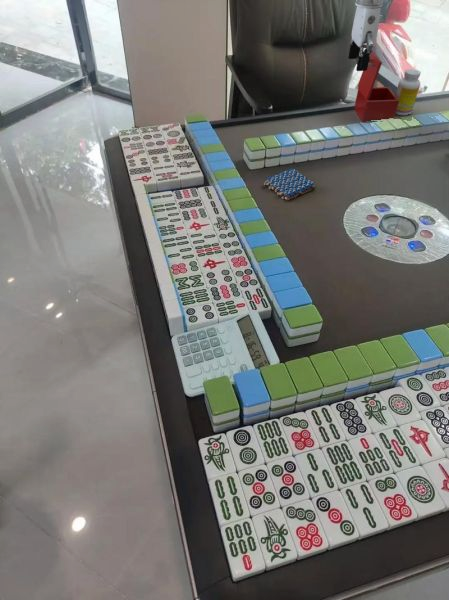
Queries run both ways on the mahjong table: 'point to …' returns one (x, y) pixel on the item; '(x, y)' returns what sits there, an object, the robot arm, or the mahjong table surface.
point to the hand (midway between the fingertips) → (357, 64)
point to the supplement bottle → (407, 91)
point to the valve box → (376, 104)
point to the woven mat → (289, 184)
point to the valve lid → (369, 75)
